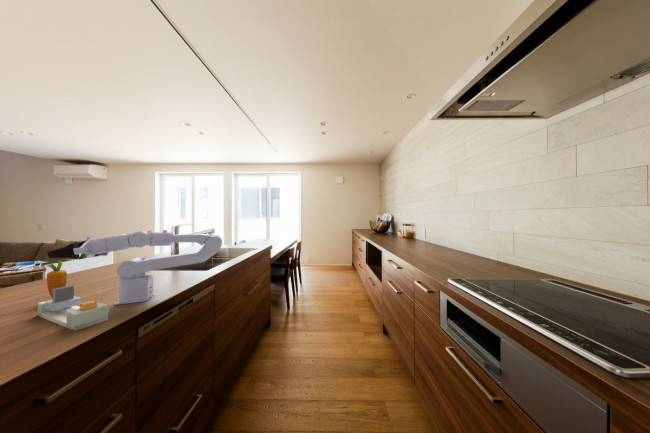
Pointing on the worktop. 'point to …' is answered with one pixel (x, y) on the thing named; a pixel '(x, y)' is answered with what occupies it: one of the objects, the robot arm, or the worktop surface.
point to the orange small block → (88, 305)
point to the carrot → (56, 278)
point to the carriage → (62, 298)
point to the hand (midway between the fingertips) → (56, 252)
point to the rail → (75, 315)
